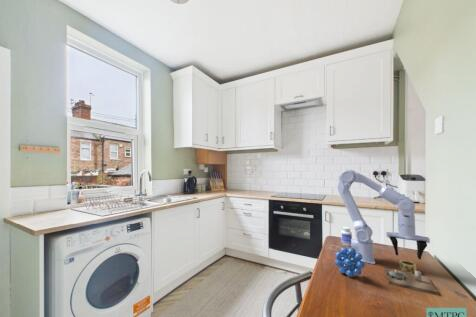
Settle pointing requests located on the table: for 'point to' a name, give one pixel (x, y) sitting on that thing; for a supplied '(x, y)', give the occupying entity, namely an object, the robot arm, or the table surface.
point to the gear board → (410, 280)
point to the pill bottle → (346, 236)
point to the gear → (407, 266)
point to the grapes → (349, 261)
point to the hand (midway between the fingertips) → (407, 256)
